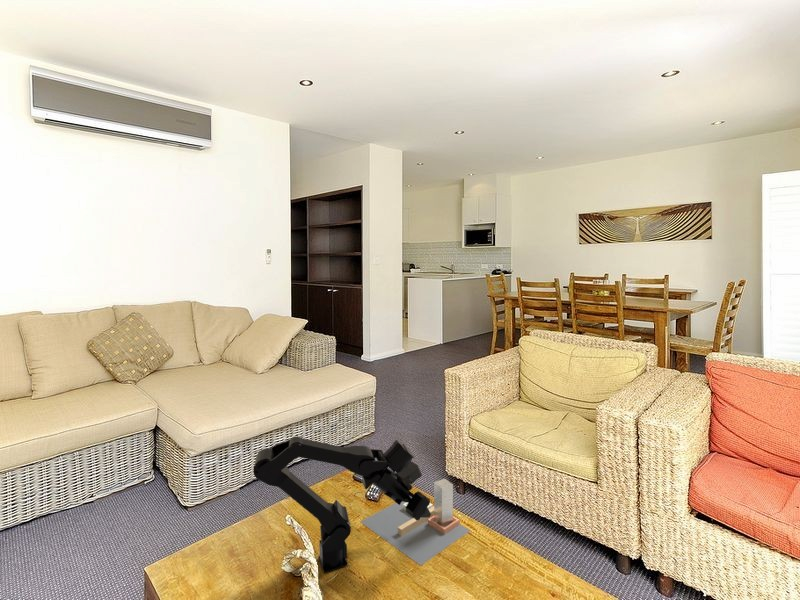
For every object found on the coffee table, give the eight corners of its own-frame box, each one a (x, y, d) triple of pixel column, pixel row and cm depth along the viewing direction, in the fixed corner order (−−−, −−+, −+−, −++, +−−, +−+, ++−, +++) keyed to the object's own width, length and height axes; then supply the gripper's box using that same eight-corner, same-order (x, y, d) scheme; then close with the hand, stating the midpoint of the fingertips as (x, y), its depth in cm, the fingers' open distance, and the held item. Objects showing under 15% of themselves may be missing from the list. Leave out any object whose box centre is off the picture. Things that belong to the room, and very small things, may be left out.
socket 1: (417, 517, 135) (417, 513, 135) (402, 508, 140) (402, 504, 140) (432, 509, 139) (432, 504, 139) (417, 500, 144) (417, 496, 144)
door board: (420, 570, 114) (420, 558, 114) (360, 526, 134) (359, 515, 133) (470, 535, 129) (470, 524, 128) (409, 499, 148) (409, 489, 147)
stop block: (442, 529, 129) (441, 488, 127) (434, 522, 132) (434, 482, 131) (452, 525, 131) (452, 484, 130) (444, 518, 134) (444, 478, 133)
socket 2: (444, 534, 127) (444, 529, 127) (427, 524, 132) (427, 519, 132) (459, 524, 131) (459, 519, 131) (442, 514, 136) (442, 510, 136)
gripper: (424, 468, 115) (456, 497, 122) (387, 445, 131) (417, 472, 137) (399, 506, 111) (433, 534, 118) (364, 478, 127) (396, 503, 133)
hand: (420, 508), depth 127 cm, fingers open, 9 cm apart
